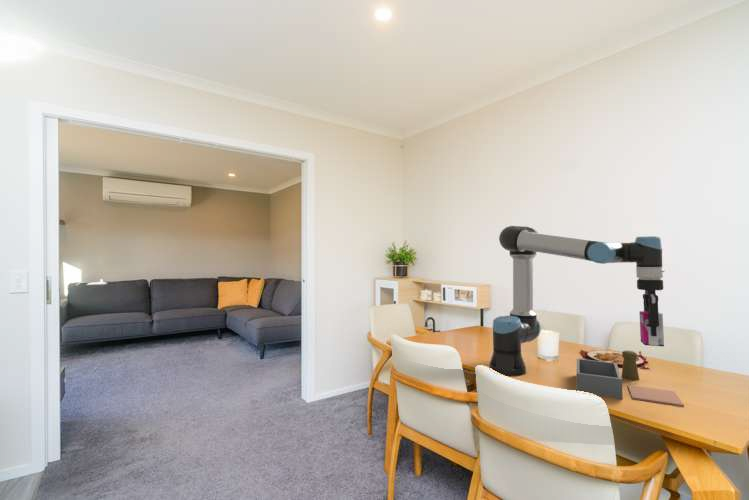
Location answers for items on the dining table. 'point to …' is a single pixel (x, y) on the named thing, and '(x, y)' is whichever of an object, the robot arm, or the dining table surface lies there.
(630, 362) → the cork
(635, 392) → the mat
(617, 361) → the plate with food
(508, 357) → the robot arm
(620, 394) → the rectangular frame
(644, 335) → the supplement box
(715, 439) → the dining table surface
